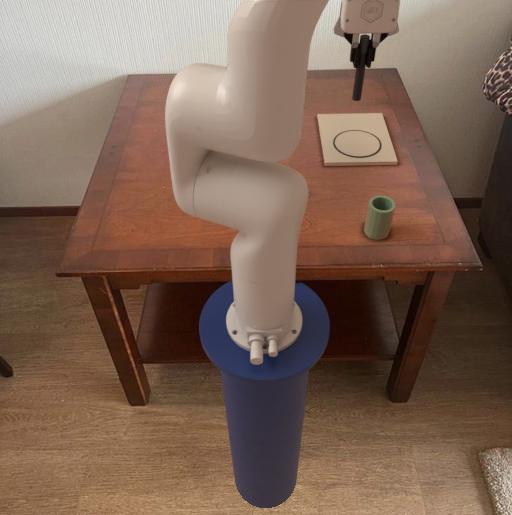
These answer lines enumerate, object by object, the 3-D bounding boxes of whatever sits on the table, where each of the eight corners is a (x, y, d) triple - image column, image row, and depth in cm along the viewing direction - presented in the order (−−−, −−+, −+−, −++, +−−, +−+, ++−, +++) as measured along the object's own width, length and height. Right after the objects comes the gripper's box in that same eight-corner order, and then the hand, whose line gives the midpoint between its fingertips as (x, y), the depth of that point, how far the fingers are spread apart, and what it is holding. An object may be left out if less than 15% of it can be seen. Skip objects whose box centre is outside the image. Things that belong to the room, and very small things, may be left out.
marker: (361, 101, 105) (370, 38, 95) (352, 101, 105) (361, 38, 95) (360, 96, 106) (369, 34, 96) (351, 96, 106) (359, 34, 96)
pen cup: (391, 239, 97) (398, 212, 91) (365, 240, 97) (371, 212, 92) (386, 222, 100) (393, 195, 95) (362, 222, 100) (367, 195, 95)
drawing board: (397, 165, 112) (398, 160, 112) (324, 166, 113) (325, 161, 112) (381, 116, 126) (382, 112, 125) (317, 117, 126) (317, 113, 126)
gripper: (331, -31, 84) (322, 74, 97) (427, -33, 84) (405, 73, 97) (326, -45, 89) (319, 56, 103) (417, -47, 89) (397, 55, 102)
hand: (361, 64), depth 100 cm, fingers closed on marker, 1 cm apart
